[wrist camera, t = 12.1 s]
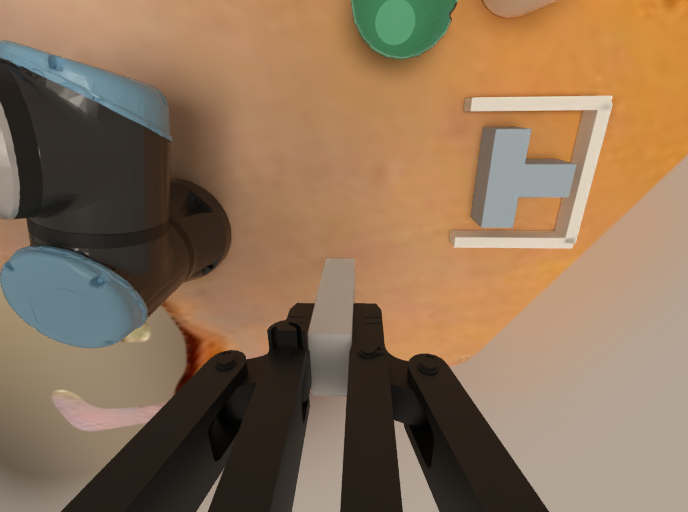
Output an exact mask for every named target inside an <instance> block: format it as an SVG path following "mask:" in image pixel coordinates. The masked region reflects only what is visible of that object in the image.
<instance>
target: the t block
mask: <svg viewBox="0 0 688 512" xmlns="http://www.w3.org/2000/svg"><path fill="white" fill-rule="evenodd" d="M530 134H531V129H528V128H519V127H483V130H482V137H481V145H480V152H479V159H478V167H477V174H476V181H475V189H474V196H473V203H472V211H471V217H472V219H473V220H474V221H475V222H476V223H477V224H478V225H479V226H480V227H482V228H513V224H514V219H515V214H516V208H517V203H518V198H519V197H569V193H570V189H571V185H572V181H573V177H574V173H575V169H576V165H577V164H574V163H570V162H566V161H562V160H558V159H526V155H527V150H528V145H529V139H530Z"/></svg>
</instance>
